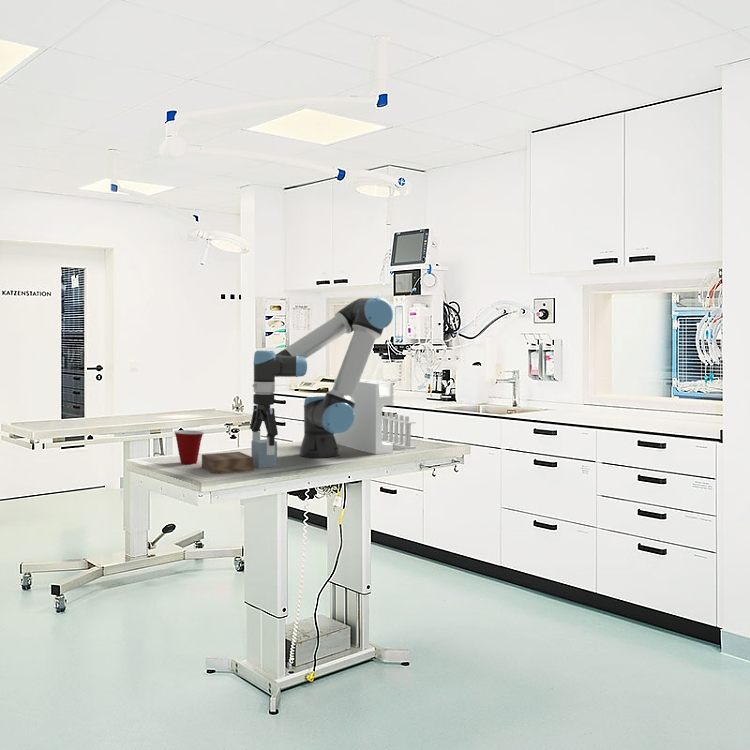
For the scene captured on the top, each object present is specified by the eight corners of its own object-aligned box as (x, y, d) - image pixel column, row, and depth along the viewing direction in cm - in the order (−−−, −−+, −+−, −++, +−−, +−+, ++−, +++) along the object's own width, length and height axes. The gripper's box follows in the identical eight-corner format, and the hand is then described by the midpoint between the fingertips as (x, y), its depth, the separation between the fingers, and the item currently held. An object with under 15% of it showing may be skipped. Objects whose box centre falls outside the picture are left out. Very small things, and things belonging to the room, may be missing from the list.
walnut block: (239, 465, 294) (239, 451, 294) (253, 471, 282) (253, 457, 281) (201, 468, 287) (201, 454, 287) (214, 474, 275) (214, 460, 275)
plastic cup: (210, 463, 295) (209, 430, 295) (183, 466, 288) (182, 433, 287) (195, 459, 303) (195, 427, 303) (169, 462, 296) (168, 430, 296)
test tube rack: (377, 441, 354) (377, 411, 353) (386, 440, 356) (386, 411, 355) (406, 449, 332) (406, 417, 331) (415, 448, 334) (416, 417, 333)
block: (334, 443, 348) (334, 378, 346) (350, 441, 352) (350, 378, 350) (375, 454, 318) (376, 383, 316) (393, 453, 322) (393, 383, 320)
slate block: (269, 463, 296) (269, 439, 296) (277, 466, 290) (277, 441, 290) (251, 465, 293) (251, 440, 292) (258, 468, 287) (258, 442, 286)
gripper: (241, 391, 299) (240, 447, 300) (267, 396, 277) (266, 457, 278) (260, 390, 302) (259, 446, 304) (287, 395, 281) (286, 456, 282)
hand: (263, 452), depth 291 cm, fingers open, 13 cm apart
